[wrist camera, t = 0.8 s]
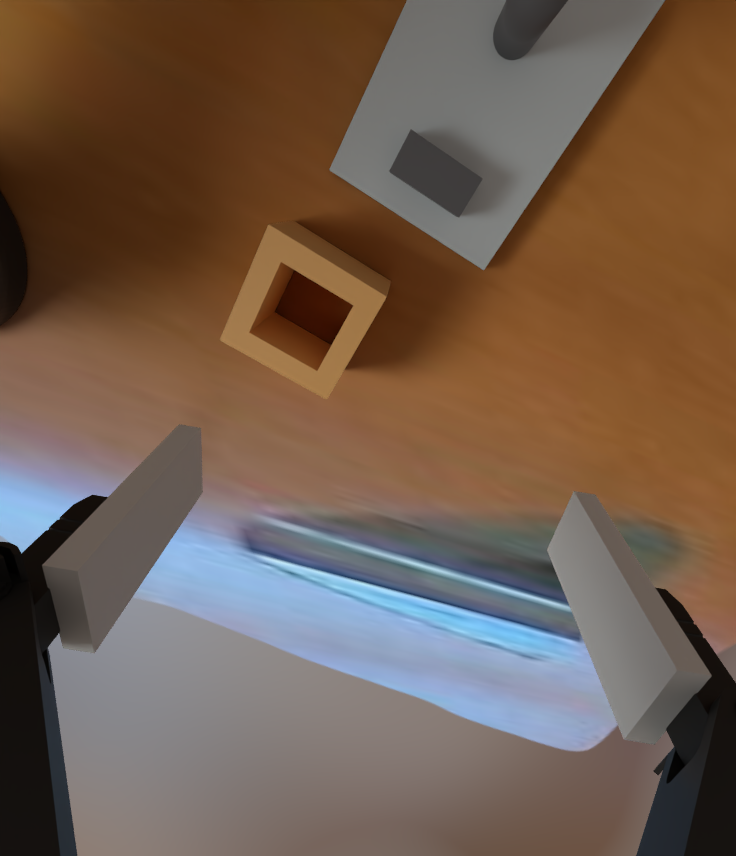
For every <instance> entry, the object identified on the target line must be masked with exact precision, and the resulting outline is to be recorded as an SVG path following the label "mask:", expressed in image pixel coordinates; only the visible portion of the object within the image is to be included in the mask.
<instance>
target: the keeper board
mask: <svg viewBox="0 0 736 856" xmlns="http://www.w3.org/2000/svg"><path fill="white" fill-rule="evenodd" d="M664 1H665V0H407V1H406V3H405V6H404V8H403V10H402V12H401V14H400V17H399V19H398V21H397V23H396V25H395V27H394V30H393V32H392V34H391V36H390V38H389V41H388V43H387V45H386V47H385V49H384V52H383V54H382V56H381V58H380V60H379V62H378V65H377V67H376V69H375V71H374V73H373V76H372V78H371V80H370V82H369V84H368V86H367V89H366V91H365V93H364V95H363V97H362V100H361V102H360V104H359V106H358V108H357V110H356V113H355V115H354V117H353V119H352V121H351V124H350V126H349V128H348V130H347V132H346V134H345V137H344V139H343V141H342V143H341V145H340V148H339V150H338V152H337V154H336V156H335V158H334V161H333V163H332V165H331V167H330V169H329V170H330V171H331V172H333V173H334V174H336V175H337V176H339V177H341V178H342V179H344V180H345V181H347V182H348V183H350V184H351V185H353V186H354V187H356V188H358V189H359V190H361V191H362V192H364V193H365V194H367V195H368V196H370V197H371V198H373V199H374V200H376V201H378V202H379V203H381V204H382V205H384V206H385V207H387V208H388V209H390V210H391V211H393V212H394V213H396V214H398V215H399V216H401V217H402V218H404V219H405V220H407V221H408V222H410V223H411V224H413V225H415V226H416V227H418V228H419V229H421V230H422V231H424V232H425V233H427V234H428V235H430V236H431V237H433V238H435V239H436V240H438V241H439V242H441V243H442V244H444V245H445V246H447V247H448V248H450V249H451V250H453V251H455V252H456V253H458V254H459V255H461V256H462V257H464V258H465V259H467V260H468V261H470V262H472V263H473V264H475V265H476V266H478V267H479V268H481V269H482V270H484V269H485V268H486V266H487V265H488V263H489V262H490V260H491V259H492V257H493V256H494V255H495V253H496V252H497V250H498V249H499V247H500V246H501V244H502V243H503V241H504V240H505V238H506V237H507V235H508V234H509V232H510V231H511V229H512V228H513V226H514V225H515V223H516V222H517V220H518V219H519V217H520V216H521V214H522V213H523V211H524V210H525V208H526V207H527V205H528V204H529V202H530V201H531V199H532V198H533V196H534V195H535V193H536V192H537V190H538V189H539V187H540V186H541V184H542V183H543V181H544V180H545V179H546V177H547V176H548V174H549V173H550V171H551V170H552V168H553V167H554V165H555V164H556V162H557V161H558V159H559V158H560V156H561V155H562V153H563V152H564V150H565V149H566V147H567V146H568V144H569V143H570V141H571V140H572V138H573V137H574V135H575V134H576V132H577V131H578V129H579V128H580V126H581V125H582V123H583V122H584V120H585V119H586V117H587V116H588V114H589V113H590V111H591V110H592V108H593V107H594V105H595V104H596V103H597V101H598V100H599V98H600V97H601V95H602V94H603V92H604V91H605V89H606V88H607V86H608V85H609V83H610V82H611V80H612V79H613V77H614V76H615V74H616V73H617V71H618V70H619V68H620V67H621V65H622V64H623V62H624V61H625V59H626V58H627V56H628V55H629V53H630V52H631V50H632V49H633V47H634V46H635V44H636V43H637V41H638V40H639V38H640V37H641V35H642V34H643V32H644V31H645V30H646V28H647V27H648V25H649V24H650V22H651V21H652V19H653V18H654V16H655V15H656V13H657V12H658V10H659V9H660V7H661V6H662V4H663V3H664Z"/></svg>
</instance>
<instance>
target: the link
mask: <svg viewBox="0 0 736 856" xmlns="http://www.w3.org/2000/svg"><path fill="white" fill-rule="evenodd" d="M294 270H295V271H297V272H299V273H300V274H302V275H304V276H305V277H307V278H309V279H310V280H312V281H314V282H315V283H317V284H319V285H320V286H322V287H324V288H325V289H327V290H329V291H330V292H332V293H334V294H335V295H337V296H339V297H340V298H342V299H344V300H345V301H347V302H349V303H350V304H352V305H354V306H353V307H352V309H351V311H350V313H349V315H348V316H347V318H346V320H345V322H344V324H343V325H342V327H341V329H340V331H339V333H338V334H337V336H336V338H335V340H334V342H333V343H332V345H330V344H328V343H327V342H325V341H323V340H322V339H320V338H318V337H316V336H315V335H313V334H311V333H310V332H308V331H306V330H304V329H303V328H301V327H299V326H297V325H296V324H294V323H292V322H291V321H289V320H287V319H285V318H284V317H282V316H280V315H278V314H277V313H275V310H276V308H277V306H278V304H279V302H280V300H281V297H282V295H283V293H284V291H285V289H286V287H287V285H288V283H289V280H290V278H291V276H292V274H293V272H294ZM390 284H391V281H390V280H388V279H387V278H385V277H383V276H382V275H380V274H379V273H377V272H375V271H374V270H372V269H371V268H369V267H367V266H366V265H364V264H363V263H361V262H359V261H358V260H356V259H354V258H353V257H351V256H350V255H348V254H346V253H345V252H343V251H342V250H340V249H338V248H337V247H335V246H334V245H332V244H330V243H329V242H327V241H325V240H324V239H322V238H321V237H319V236H317V235H316V234H314V233H313V232H311V231H309V230H308V229H306V228H305V227H303V226H301V225H300V224H298V223H296V222H295V221H286V222H280V223H273V224H268V227H267V229H266V231H265V234H264V236H263V238H262V241H261V243H260V246H259V248H258V250H257V253H256V255H255V257H254V260H253V262H252V264H251V267H250V269H249V272H248V274H247V276H246V279H245V281H244V283H243V286H242V288H241V291H240V293H239V295H238V298H237V300H236V302H235V305H234V307H233V310H232V312H231V314H230V317H229V319H228V321H227V324H226V326H225V328H224V331H223V333H222V336H221V338H220V341H222V342H224V343H226V344H227V345H229V346H231V347H233V348H235V349H236V350H238V351H240V352H242V353H244V354H245V355H247V356H249V357H251V358H253V359H254V360H256V361H258V362H260V363H262V364H263V365H265V366H267V367H269V368H270V369H272V370H274V371H276V372H278V373H279V374H281V375H283V376H285V377H287V378H288V379H290V380H292V381H294V382H296V383H297V384H299V385H301V386H303V387H305V388H306V389H308V390H310V391H312V392H313V393H315V394H317V395H319V396H321V397H322V398H324V399H326V400H327V398H328V397H329V395H330V393H331V392H332V390H333V388H334V387H335V385H336V383H337V381H338V380H339V378H340V376H341V375H342V373H343V371H344V369H345V368H346V366H347V364H348V363H349V361H350V359H351V357H352V356H353V354H354V352H355V351H356V349H357V347H358V345H359V344H360V342H361V340H362V339H363V337H364V335H365V333H366V332H367V330H368V328H369V327H370V325H371V323H372V322H373V320H374V318H375V316H376V315H377V313H378V311H379V310H380V308H381V306H382V304H383V303H384V301H385V299H386V298H387V295H388V291H389V288H390Z"/></svg>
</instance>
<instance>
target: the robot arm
mask: <svg viewBox="0 0 736 856" xmlns="http://www.w3.org/2000/svg"><path fill="white" fill-rule="evenodd" d="M26 281H27V262H26V254H25V249H24V244H23V241H22V237H21V234H20V231H19V228H18V226H17V223H16V221H15V219H14V216H13V214H12V212H11V210H10V208H9V206H8V205H7V203H6V201H5V199H4V198H3V196H2V195H1V193H0V325H2V324H3V323H4V322H6V321H7V320H8V319H9V318H10V317H11V316H12V315H13V314H14V313H15V311H16V310H17V308H18V307H19V305H20V303H21V301H22V298H23V295H24V292H25V288H26ZM202 492H203V490H202V447H201V428H198V427H192V426H186V425H180V424H179V425H178V426H177V427H176V428H175V429H174V430H173V431H172V432H171V433H170V434H169V435H168V436H167V437H166V438H165V439H164V440H163V441H162V442H161V443H160V444H159V445H158V447H157V448H156V449H155V450H154V451H153V452H152V453H151V454H150V455H149V456H148V457H147V458H146V459H145V460H144V461H143V462H142V463H141V464H140V465H139V466H138V467H137V468H136V469H135V470H134V471H133V472H132V473H131V474H130V475H129V476H128V477H127V478H126V479H125V480H124V481H123V483H122V484H121V485H120V486H119V487H118V488H117V489H116V490H115V491H114V492H113V493H112V494H111V495H110V496H109V497H103V496H97V495H91V496H89V497H87V498H85V499H83V500H81V501H80V502H78V503H76V504H74V505H73V506H72V507H71V508H69V509H68V510H67V511H66V512H65V513H64V514H63V515H62V516H61V517H60V520H57V521H56V522H55V523H54V524H52V525H51V526H50V527H49V530H48V531H47V530H46V531H45V532H44V533H43V534H42V535H41V536H40V537H39V538H38V539H37V540H35V541H34V542H33V543H32V544H31V545H30V546H29V547H28V548H27V549H26V550H25V551H24V552H23V553H22V554H21V552H20V550H19V548H18V547H17V546H15V545H13V544H11V543H9V542H0V856H77V850H76V843H75V837H74V828H73V821H72V815H71V807H70V800H69V792H68V785H67V778H66V771H65V763H64V756H63V749H62V741H61V734H60V728H59V720H58V712H57V706H56V698H55V691H54V684H53V676H52V670H51V662H50V655H49V651H48V646H49V645H50V644H51V642H52V641H53V640H54V639H55V637H56V636H57V635H58V633H59V634H60V637H61V642H62V646H63V648H66V649H72V650H78V651H84V652H90V653H95V652H96V650H97V649H98V647H99V646H100V644H101V643H102V641H103V639H104V638H105V637H106V635H107V634H108V632H109V631H110V629H111V628H112V626H113V625H114V623H115V622H116V620H117V619H118V617H119V616H120V615H121V613H122V612H123V610H124V608H125V607H126V606H127V604H128V603H129V601H130V600H131V598H132V597H133V595H134V594H135V592H136V591H137V589H138V588H139V586H140V585H141V583H142V582H143V580H144V579H145V577H146V576H147V574H148V573H149V571H150V570H151V568H152V567H153V565H154V564H155V562H156V561H157V559H158V558H159V556H160V555H161V553H162V552H163V550H164V549H165V547H166V546H167V545H168V543H169V542H170V540H171V539H172V537H173V536H174V534H175V533H176V531H177V530H178V528H179V527H180V525H181V524H182V522H183V521H184V519H185V518H186V516H187V515H188V513H189V512H190V510H191V509H192V507H193V506H194V504H195V503H196V501H197V500H198V498H199V497H200V495H201V494H202ZM547 551H548V554H549V556H550V559H551V561H552V564H553V566H554V568H555V571H556V573H557V576H558V578H559V581H560V583H561V586H562V588H563V591H564V593H565V595H566V598H567V600H568V603H569V605H570V608H571V610H572V613H573V615H574V618H575V620H576V623H577V625H578V627H579V630H580V632H581V635H582V637H583V640H584V642H585V645H586V647H587V650H588V652H589V654H590V657H591V659H592V662H593V664H594V667H595V669H596V672H597V674H598V677H599V679H600V682H601V684H602V686H603V689H604V691H605V694H606V696H607V699H608V701H609V704H610V706H611V709H612V711H613V713H614V716H615V718H616V721H617V723H618V726H619V728H620V731H621V733H622V735H623V738H624V740H630V741H636V742H642V743H648V744H655V743H656V742H657V741H658V740H659V739H660V737H661V736H662V735H663V734H664V733H665V731H666V730H667V732H668V734H669V736H670V738H671V741H672V743H673V745H674V748H673V749H672V750H671V751H670V752H669V753H668V755H667V756H666V757H665V758H664V759H663V760H662V762H661V763H660V764H659V765H658V766H657V767H656V769H655V770H654V772H655V773H656V774H657V775H659V774H660V773H661V771H662V770H663V772H662V775H661V778H660V781H659V785H658V788H657V791H656V794H655V798H654V801H653V804H652V807H651V810H650V813H649V817H648V820H647V823H646V827H645V829H644V833H643V836H642V839H641V842H640V846H639V849H638V852H637V855H636V856H736V683H735V681H734V680H733V678H732V677H731V675H730V674H729V673H728V671H727V670H726V668H725V667H724V665H723V664H722V662H721V661H720V659H719V658H718V656H717V655H716V653H715V652H714V650H713V649H712V648H711V646H710V645H709V643H708V642H707V640H706V639H705V638H703V634H702V633H701V631H700V630H699V629H698V627H697V626H696V625H694V623H693V622H694V621H693V620H692V618H691V617H690V615H689V614H688V612H687V611H686V609H685V608H684V607H683V605H682V604H681V603H680V602H679V601H678V600H677V599H675V598H674V597H673V596H672V595H671V594H670V593H669V592H668V591H667V590H666V589H660V588H655V587H654V585H653V584H652V582H651V580H650V579H649V577H648V576H647V574H646V573H645V571H644V570H643V568H642V566H641V565H640V563H639V562H638V560H637V559H636V557H635V556H634V554H633V552H632V551H631V549H630V548H629V546H628V545H627V543H626V542H625V540H624V538H623V537H622V535H621V534H620V532H619V531H618V529H617V528H616V526H615V524H614V523H613V521H612V520H611V518H610V517H609V515H608V514H607V512H606V510H605V509H604V507H603V506H602V504H601V503H600V501H599V500H598V498H597V496H596V495H594V494H588V493H582V492H576V491H574V492H573V494H572V496H571V499H570V501H569V503H568V505H567V507H566V510H565V512H564V514H563V516H562V518H561V521H560V523H559V525H558V527H557V529H556V531H555V534H554V536H553V538H552V540H551V542H550V545H549V547H548V549H547Z"/></svg>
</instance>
